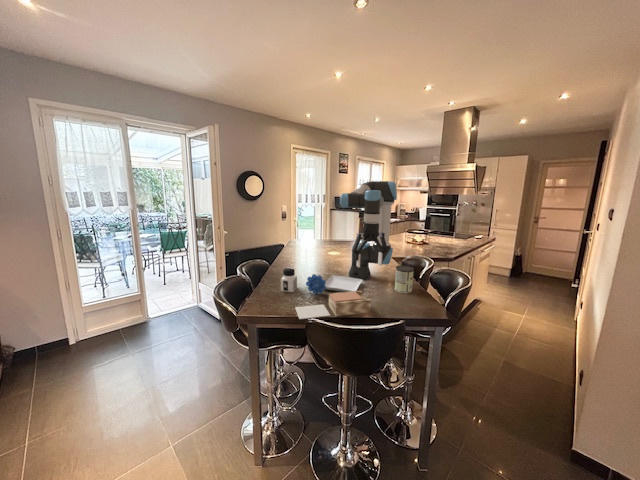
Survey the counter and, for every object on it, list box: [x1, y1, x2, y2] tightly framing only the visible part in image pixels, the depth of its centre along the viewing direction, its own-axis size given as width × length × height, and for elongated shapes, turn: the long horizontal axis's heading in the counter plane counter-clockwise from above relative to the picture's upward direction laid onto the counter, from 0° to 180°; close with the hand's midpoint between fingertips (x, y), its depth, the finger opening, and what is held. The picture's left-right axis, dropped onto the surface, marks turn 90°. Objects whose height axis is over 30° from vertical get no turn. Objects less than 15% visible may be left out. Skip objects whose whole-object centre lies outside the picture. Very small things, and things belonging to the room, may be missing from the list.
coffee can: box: [394, 265, 415, 294], centre depth 157 cm, size 10×10×14 cm
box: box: [328, 290, 372, 317], centre depth 132 cm, size 18×12×7 cm, turn 105°
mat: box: [294, 304, 331, 320], centre depth 129 cm, size 15×12×1 cm
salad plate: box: [324, 274, 364, 293], centre depth 162 cm, size 21×21×3 cm
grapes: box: [305, 273, 327, 295], centre depth 149 cm, size 12×7×12 cm, turn 99°
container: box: [280, 267, 298, 293], centre depth 156 cm, size 8×8×13 cm
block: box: [329, 292, 362, 304], centre depth 131 cm, size 14×9×2 cm, turn 105°
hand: (369, 265), depth 131 cm, fingers open, 11 cm apart
